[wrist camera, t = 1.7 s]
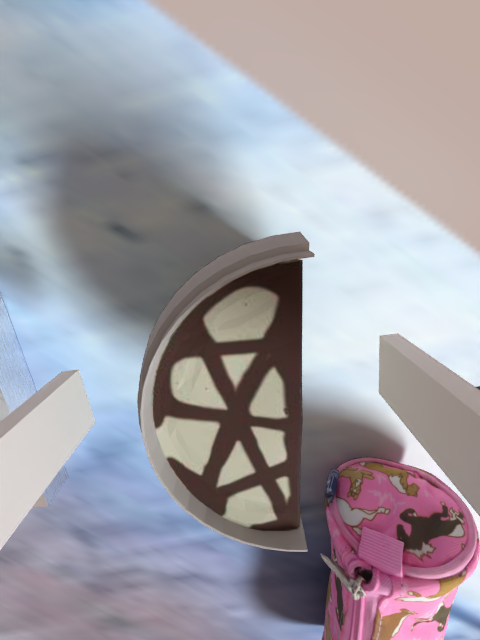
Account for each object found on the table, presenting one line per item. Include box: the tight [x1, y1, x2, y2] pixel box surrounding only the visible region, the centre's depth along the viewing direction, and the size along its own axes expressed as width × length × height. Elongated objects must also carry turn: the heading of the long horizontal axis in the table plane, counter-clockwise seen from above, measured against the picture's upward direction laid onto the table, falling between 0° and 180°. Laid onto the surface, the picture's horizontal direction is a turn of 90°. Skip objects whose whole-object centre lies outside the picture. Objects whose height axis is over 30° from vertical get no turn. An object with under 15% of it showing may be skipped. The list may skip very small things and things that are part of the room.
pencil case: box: [320, 457, 480, 640], centre depth 21 cm, size 21×9×9 cm, turn 2°
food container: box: [138, 232, 314, 552], centre depth 15 cm, size 12×6×10 cm, turn 3°
